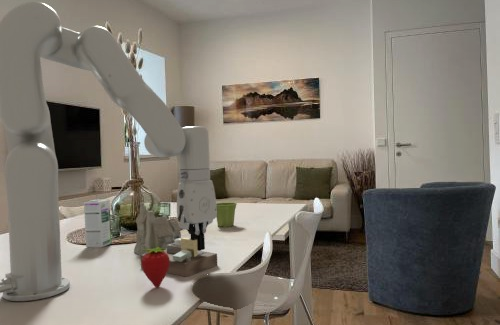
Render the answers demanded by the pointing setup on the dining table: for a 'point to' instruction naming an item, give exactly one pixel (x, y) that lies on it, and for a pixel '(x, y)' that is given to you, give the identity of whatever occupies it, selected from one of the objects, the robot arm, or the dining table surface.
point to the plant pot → (225, 214)
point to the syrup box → (97, 223)
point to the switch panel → (189, 262)
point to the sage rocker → (182, 255)
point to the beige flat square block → (189, 246)
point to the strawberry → (155, 265)
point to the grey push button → (178, 242)
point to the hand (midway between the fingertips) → (198, 249)
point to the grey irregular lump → (154, 231)
